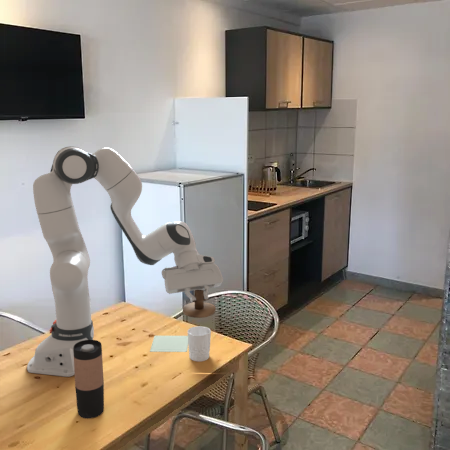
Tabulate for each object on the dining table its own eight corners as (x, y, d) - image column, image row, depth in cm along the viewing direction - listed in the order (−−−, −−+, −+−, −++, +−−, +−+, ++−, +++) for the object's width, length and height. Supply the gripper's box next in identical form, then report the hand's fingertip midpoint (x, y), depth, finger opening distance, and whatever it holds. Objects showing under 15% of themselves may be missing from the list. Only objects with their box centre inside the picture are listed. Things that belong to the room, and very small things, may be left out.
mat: (149, 352, 175) (149, 351, 175) (154, 336, 188) (154, 335, 188) (186, 353, 175) (186, 351, 175) (189, 337, 188) (189, 335, 188)
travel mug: (83, 402, 145) (79, 338, 140) (109, 404, 144) (106, 340, 139) (72, 418, 137) (67, 350, 133) (98, 420, 136) (95, 352, 132)
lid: (181, 317, 163) (181, 296, 161) (183, 305, 173) (183, 285, 172) (215, 317, 163) (215, 296, 161) (215, 305, 174) (215, 285, 172)
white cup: (207, 364, 167) (207, 336, 165) (185, 362, 169) (184, 334, 167) (213, 353, 175) (213, 327, 173) (191, 351, 176) (191, 325, 174)
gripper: (162, 263, 167) (172, 301, 160) (218, 256, 175) (229, 292, 169) (158, 272, 171) (168, 309, 165) (212, 265, 180) (224, 300, 173)
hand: (199, 300), depth 167 cm, fingers closed on lid, 3 cm apart
